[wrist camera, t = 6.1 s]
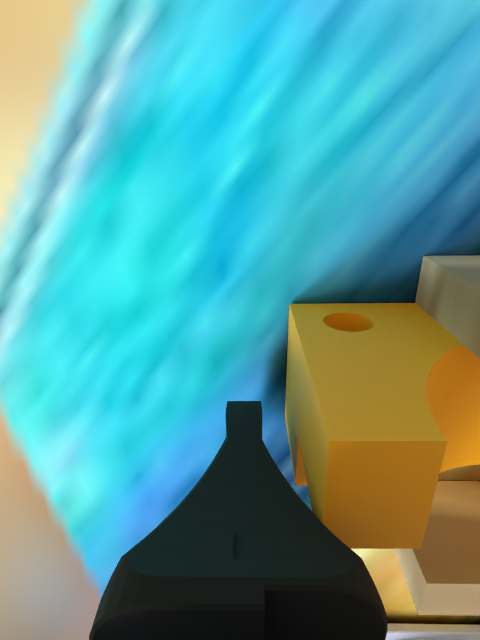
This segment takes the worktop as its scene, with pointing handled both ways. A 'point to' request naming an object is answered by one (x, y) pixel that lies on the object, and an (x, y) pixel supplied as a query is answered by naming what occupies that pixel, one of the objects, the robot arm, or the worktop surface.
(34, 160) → the worktop surface
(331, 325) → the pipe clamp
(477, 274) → the wooden open tray
